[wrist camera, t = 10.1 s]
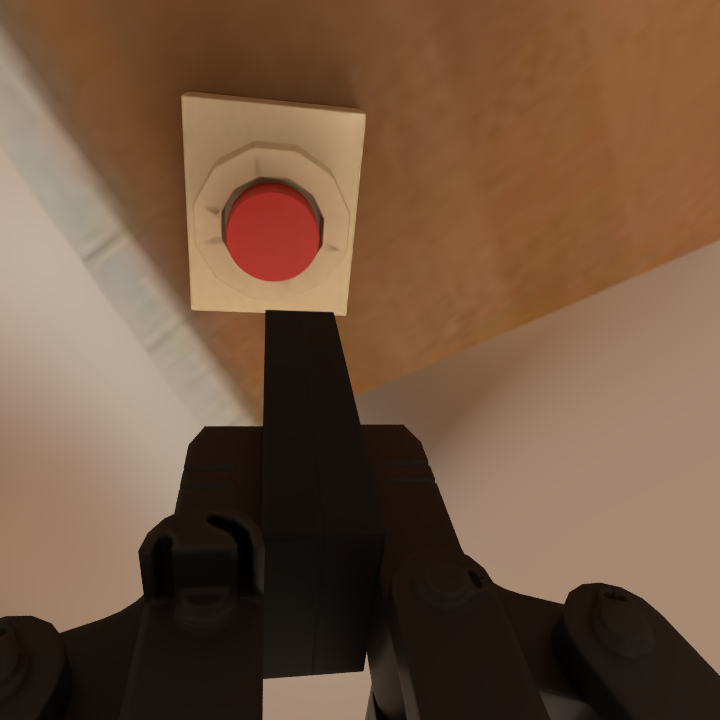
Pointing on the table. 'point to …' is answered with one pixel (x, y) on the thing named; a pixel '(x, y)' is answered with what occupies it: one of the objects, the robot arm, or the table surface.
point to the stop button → (272, 232)
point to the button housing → (269, 165)
